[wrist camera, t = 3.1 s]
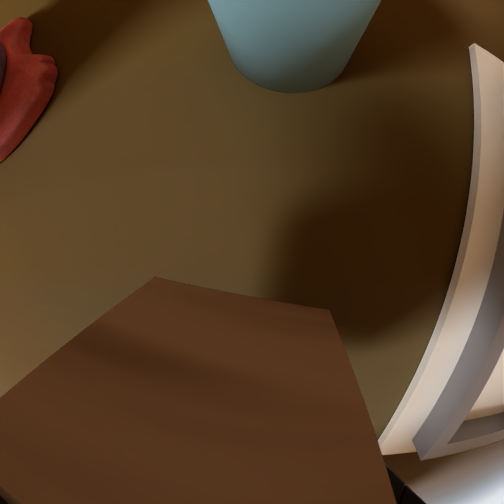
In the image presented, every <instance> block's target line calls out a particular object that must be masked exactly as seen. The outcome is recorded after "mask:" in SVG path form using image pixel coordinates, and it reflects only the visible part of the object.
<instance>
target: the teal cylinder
mask: <svg viewBox="0 0 504 504" xmlns="http://www.w3.org/2000/svg"><path fill="white" fill-rule="evenodd" d="M208 2H209V4H210V6H211V9H212V11H213V14H214V16H215V19H216V21H217V24H218V26H219V29H220V31H221V34H222V36H223V39H224V41H225V44H226V46H227V49H228V51H229V54H230V57H231V59H232V61H233V63H234V65H235V66H236V68H237V69H238V70H239V72H240V73H242V74H243V75H244V76H245V77H246V78H247V79H249V80H250V81H252V82H253V83H255V84H257V85H259V86H261V87H264V88H266V89H269V90H273V91H277V92H284V93H303V92H309V91H314V90H317V89H320V88H322V87H324V86H326V85H328V84H330V83H331V82H333V81H334V80H335V79H336V78H337V77H338V76H339V75H340V74H341V73H342V72H343V70H344V68H345V66H346V64H347V63H348V61H349V59H350V57H351V55H352V53H353V52H354V50H355V48H356V46H357V44H358V42H359V40H360V39H361V37H362V35H363V33H364V31H365V29H366V28H367V26H368V24H369V22H370V20H371V18H372V17H373V15H374V13H375V11H376V9H377V7H378V6H379V4H380V2H381V0H208Z"/></svg>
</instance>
